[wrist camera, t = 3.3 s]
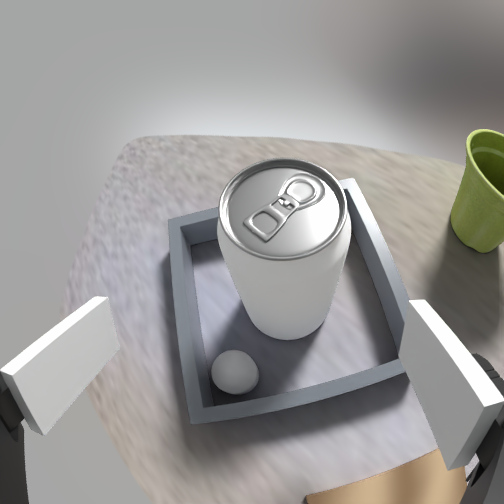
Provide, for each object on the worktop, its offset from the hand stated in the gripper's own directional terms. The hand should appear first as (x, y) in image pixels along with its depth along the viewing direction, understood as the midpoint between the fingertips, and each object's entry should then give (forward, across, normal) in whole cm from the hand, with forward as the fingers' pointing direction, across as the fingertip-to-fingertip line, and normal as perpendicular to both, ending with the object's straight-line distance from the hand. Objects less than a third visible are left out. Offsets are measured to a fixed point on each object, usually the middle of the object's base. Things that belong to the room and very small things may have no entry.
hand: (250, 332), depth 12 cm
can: (+11, +1, -4) cm, 12 cm away
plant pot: (+16, +20, +1) cm, 26 cm away
